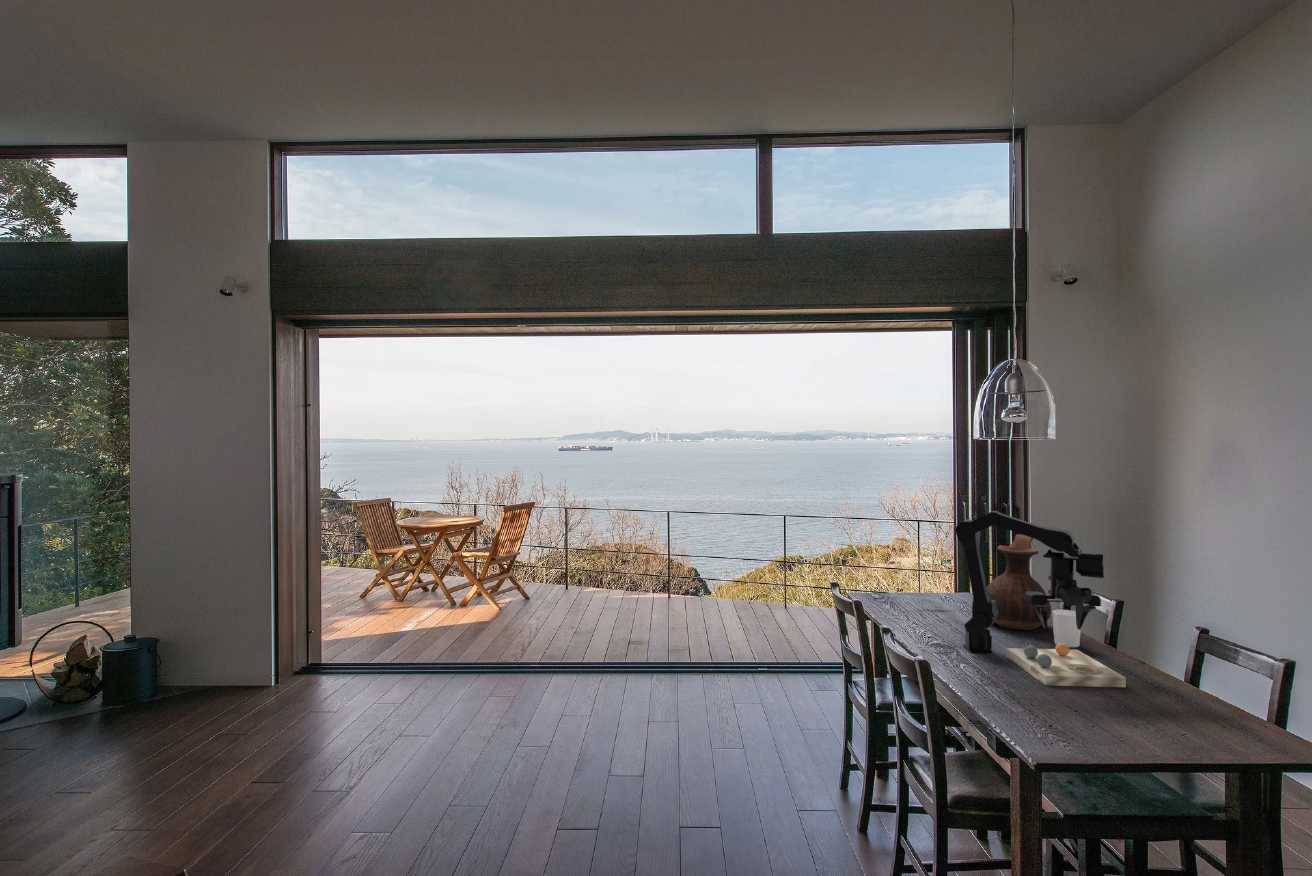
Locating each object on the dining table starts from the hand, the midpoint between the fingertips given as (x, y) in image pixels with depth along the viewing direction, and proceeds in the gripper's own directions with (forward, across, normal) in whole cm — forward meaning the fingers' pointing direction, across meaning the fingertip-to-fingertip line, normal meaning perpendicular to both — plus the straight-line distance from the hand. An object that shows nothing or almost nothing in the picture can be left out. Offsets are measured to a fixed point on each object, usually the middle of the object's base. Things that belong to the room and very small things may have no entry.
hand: (1061, 628), depth 199 cm
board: (+10, -3, -6) cm, 12 cm away
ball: (+6, 0, 0) cm, 6 cm away
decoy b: (+6, -10, -11) cm, 16 cm away
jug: (+10, +5, +42) cm, 43 cm away
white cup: (+10, +11, +20) cm, 25 cm away
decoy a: (+6, -10, -3) cm, 12 cm away
